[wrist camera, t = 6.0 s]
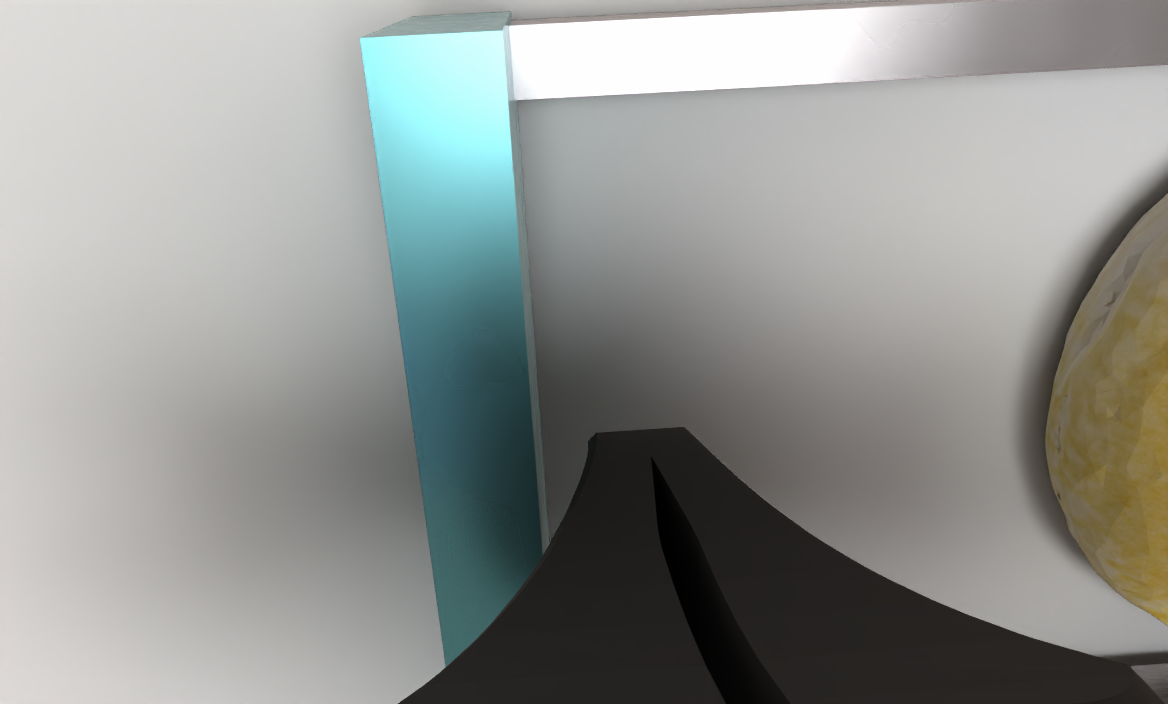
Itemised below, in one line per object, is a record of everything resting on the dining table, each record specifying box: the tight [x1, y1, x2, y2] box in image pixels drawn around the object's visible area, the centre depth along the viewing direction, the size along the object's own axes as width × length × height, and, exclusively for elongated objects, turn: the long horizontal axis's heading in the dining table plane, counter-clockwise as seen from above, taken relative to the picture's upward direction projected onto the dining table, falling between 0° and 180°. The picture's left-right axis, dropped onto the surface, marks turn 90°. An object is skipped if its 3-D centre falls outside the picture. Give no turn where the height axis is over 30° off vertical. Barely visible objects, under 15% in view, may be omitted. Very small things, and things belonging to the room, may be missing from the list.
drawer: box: [360, 0, 1168, 704], centre depth 12 cm, size 12×19×4 cm, turn 93°
